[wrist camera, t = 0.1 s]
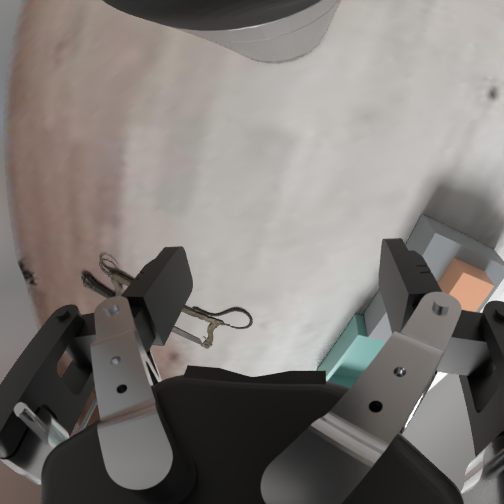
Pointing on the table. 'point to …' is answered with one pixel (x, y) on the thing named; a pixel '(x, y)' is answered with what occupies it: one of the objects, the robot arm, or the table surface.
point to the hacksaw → (195, 312)
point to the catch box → (350, 354)
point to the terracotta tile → (466, 284)
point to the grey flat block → (437, 265)
